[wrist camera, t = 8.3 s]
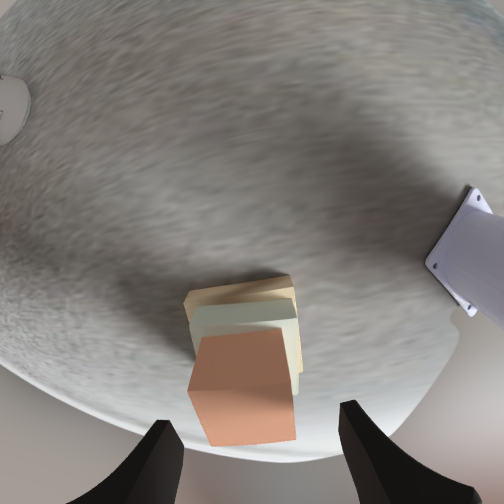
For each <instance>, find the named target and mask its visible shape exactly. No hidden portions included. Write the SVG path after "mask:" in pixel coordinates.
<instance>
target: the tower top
mask: <svg viewBox="0 0 504 504" xmlns="http://www.w3.org/2000/svg"><path fill="white" fill-rule="evenodd" d="M278 328H282V334H283V339H284V345H285V350H286V356H287V361H288V367H289V373H290V378H291V386H292V395H298V318H297V314H296V311H295V308H294V305H293V301H292V299H281V300H271V301H260V302H248V303H235V304H222V305H207V306H196V309H195V311H194V314H193V317H192V319H191V322H190V325H189V329H190V333H191V338H192V342H193V346H194V350H195V354H196V356H197V353H198V349H199V345H200V342H201V338H202V337H211V336H221V335H231V334H239V333H248V332H256V331H264V330H271V329H278Z"/></svg>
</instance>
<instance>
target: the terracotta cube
mask: <svg viewBox="0 0 504 504" xmlns="http://www.w3.org/2000/svg"><path fill="white" fill-rule="evenodd" d="M187 392H188V394H189V397H190V399H191V401H192V404H193V406H194V409H195V411H196V413H197V416H198V418H199V420H200V423H201V425H202V427H203V429H204V432H205V434H206V436H207V438H208V440H209V443H210V445H211V446H238V445H253V444H264V443H274V442H282V441H290V440H296V431H295V419H294V407H293V396H292V386H291V378H290V373H289V367H288V361H287V356H286V350H285V345H284V339H283V334H282V328H278V329H271V330H264V331H256V332H248V333H239V334H231V335H221V336H211V337H202V338H201V342H200V345H199V349H198V353H197V356H196V360H195V364H194V368H193V371H192V375H191V379H190V383H189V387H188V390H187Z"/></svg>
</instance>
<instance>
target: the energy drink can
mask: <svg viewBox="0 0 504 504" xmlns="http://www.w3.org/2000/svg"><path fill="white" fill-rule="evenodd" d="M30 107H31V95H30V92H29V90H28V88H27V85H26V83H25V82H24V81H23V80H22V79H20V78H16V77H12V76H8V75H4V74H0V146H3V145H5V144H7V143H8V142H10V141H11V140H12V139H13V138H14V137H16V136H17V135H18V134H19V133H20V131H21V130H22V129H23V127H24V125H25V123H26V121H27V119H28V115H29V112H30Z"/></svg>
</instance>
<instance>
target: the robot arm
mask: <svg viewBox="0 0 504 504" xmlns="http://www.w3.org/2000/svg"><path fill="white" fill-rule="evenodd" d="M477 196H478V199H477ZM434 264H435V267H433V265H434ZM425 265H426V266H427V268H428V269H429V270H430V271H431V272H432V273H433V274H434V275H435V276H436V277H437V279H438V280H439V281H440V282H441V283H442V284H443V285H444V287H445V288H446V289H447V290H448V291H449V292H450V294H451V295H452V296H453V297H454V298H455V300H456V301H457V302H458V303H459V304H460V306H461V307H462V308H463V309H464V311H465V312H466V313H467V314H468V315H469V316H470V317H472V316H473V315H474V314H475V313H476V311H477V310H479V311H480V312H482V313H483V314H484V315H485V316H487V317H488V318H489V319H491V320H492V321H493V322H494V323H496V324H497V325H498V326H499V327H501V328H502V329H503V330H504V217H501V216H498V215H494V214H493V213H492V211H491V209H490V208H489V206H488V204H487V203H486V201H485V199H484V198H483V196H482V195H481V193H480V192H479V190H478V189H477V188H474V187H473V188H471V189H470V191H469V193H468V195H467V197H466V198H465V200H464V202H463V203H462V205H461V207H460V208H459V210H458V212H457V213H456V215H455V217H454V218H453V220H452V221H451V223H450V224H449V226H448V228H447V229H446V231H445V232H444V234H443V235H442V237H441V238H440V240H439V241H438V243H437V244H436V245H435V247H434V248H433V250H432V251H431V253H430V254H429V255H428V257H427V258H426V261H425ZM338 432H339V436H340V441H341V445H342V450H343V453H344V455H345V458H346V461H347V463H348V467H349V470H350V472H351V475H352V478H353V481H354V483H355V486H356V489H357V493H358V497H359V501H360V504H482V500H481V498H480V496H479V495H478V493H477V492H476V490H475V489H474V488H473V487H471V486H467V485H465V484H462V483H459V482H456V481H454V480H451V479H449V478H447V477H444V476H442V475H440V474H438V473H437V472H434V471H433V470H431V469H429V468H427V467H426V466H424V465H422V464H421V463H419V462H418V461H416V460H415V459H414V458H412V457H411V456H409V455H408V454H407V453H405V452H404V451H403V450H402V449H400V448H399V447H398V446H397V445H396V444H395V443H394V442H393V441H391V440H390V439H389V438H388V437H387V436H386V435H385V434H384V433H383V432H382V431H381V430H380V429H379V428H378V427H377V425H376V424H375V423H374V422H373V421H372V420H371V419H370V417H369V416H368V415H367V414H366V413H365V411H364V410H363V409H362V408H361V406H360V405H359V404H358V402H357V401H356V400H351V401H347V402H342V403H340V414H339V428H338ZM183 455H184V445H183V443H182V441H181V440H180V438H179V436H178V434H177V433H176V431H175V429H174V427H173V426H172V424H171V422H170V420H156V421H155V423H154V424H153V425H152V427H151V428H150V429H149V431H148V432H147V433H146V434H145V436H144V437H143V439H142V440H141V441H140V442H139V444H138V445H137V446H136V447H135V449H134V450H133V451H132V452H131V453H130V454H129V456H128V457H127V458H126V459H125V460H124V461H123V462H122V463H121V464H120V465H119V467H118V468H117V469H116V470H115V471H114V472H113V473H111V474H110V475H109V476H108V477H107V478H106V479H105V480H103V481H102V482H101V483H99V484H98V485H97V486H96V487H94V488H93V489H91V490H90V491H88V492H87V493H85V494H84V495H82V496H80V497H78V498H77V499H75V500H73V501H71V502H69V503H66V504H174V502H175V497H176V493H177V489H178V484H179V480H180V475H181V470H182V466H183Z"/></svg>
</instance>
